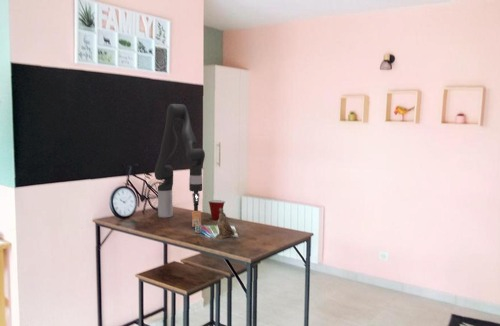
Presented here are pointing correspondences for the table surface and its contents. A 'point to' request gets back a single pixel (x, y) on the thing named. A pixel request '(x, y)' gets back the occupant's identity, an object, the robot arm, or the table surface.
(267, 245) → the table surface
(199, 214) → the collar
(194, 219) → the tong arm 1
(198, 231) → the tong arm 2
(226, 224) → the brown carved statuette
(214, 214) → the plastic cup
